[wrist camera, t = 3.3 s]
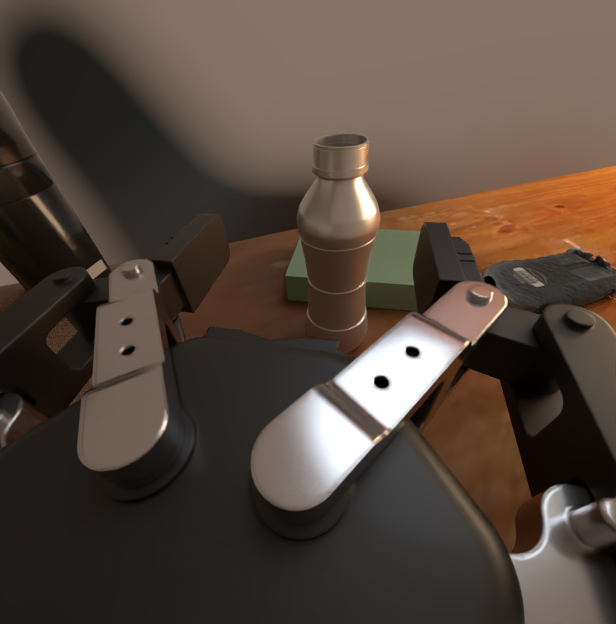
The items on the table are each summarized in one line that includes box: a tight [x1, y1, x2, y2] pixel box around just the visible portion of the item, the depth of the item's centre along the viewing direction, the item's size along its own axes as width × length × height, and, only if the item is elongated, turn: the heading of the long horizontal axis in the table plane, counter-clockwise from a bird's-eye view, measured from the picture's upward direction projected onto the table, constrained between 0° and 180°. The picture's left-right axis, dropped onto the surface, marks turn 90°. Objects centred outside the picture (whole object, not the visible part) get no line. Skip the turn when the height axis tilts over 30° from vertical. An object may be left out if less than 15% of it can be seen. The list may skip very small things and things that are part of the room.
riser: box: [285, 229, 420, 311], centre depth 40 cm, size 17×13×4 cm
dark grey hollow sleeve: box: [482, 247, 616, 314], centre depth 36 cm, size 9×6×15 cm
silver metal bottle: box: [297, 134, 381, 353], centre depth 26 cm, size 6×7×20 cm
